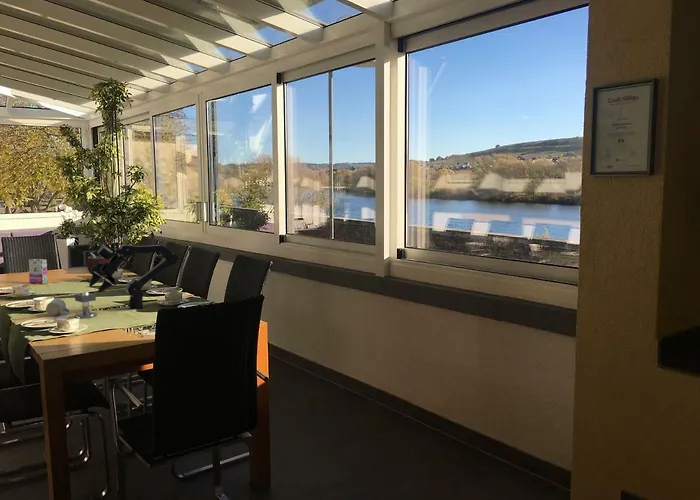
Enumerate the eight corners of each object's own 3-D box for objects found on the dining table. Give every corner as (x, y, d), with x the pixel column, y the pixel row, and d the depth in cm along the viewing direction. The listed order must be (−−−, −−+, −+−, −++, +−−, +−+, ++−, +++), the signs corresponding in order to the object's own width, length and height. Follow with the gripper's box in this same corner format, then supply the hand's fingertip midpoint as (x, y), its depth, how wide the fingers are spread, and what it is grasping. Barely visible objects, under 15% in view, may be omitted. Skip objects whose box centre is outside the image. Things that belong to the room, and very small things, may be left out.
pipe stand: (90, 313, 308) (89, 290, 307) (100, 315, 302) (99, 292, 301) (71, 316, 300) (70, 292, 299) (81, 319, 294) (80, 295, 293)
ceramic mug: (45, 316, 300) (44, 301, 299) (50, 313, 308) (50, 298, 307) (67, 316, 302) (67, 301, 301) (72, 313, 310) (72, 298, 309)
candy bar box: (48, 283, 407) (47, 259, 405) (42, 284, 402) (41, 260, 400) (35, 282, 410) (34, 258, 408) (29, 283, 405) (28, 259, 404)
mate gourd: (113, 281, 418) (112, 252, 416) (96, 283, 406) (95, 254, 404) (99, 279, 426) (98, 251, 424) (82, 281, 415) (81, 252, 413)
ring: (88, 298, 305) (88, 293, 305) (95, 300, 301) (95, 294, 301) (75, 300, 300) (74, 294, 300) (82, 302, 295) (81, 296, 295)
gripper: (110, 263, 326) (92, 287, 321) (93, 251, 308) (73, 275, 304) (125, 273, 323) (107, 297, 318) (109, 261, 305) (89, 286, 301)
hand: (94, 289), depth 311 cm, fingers open, 9 cm apart
